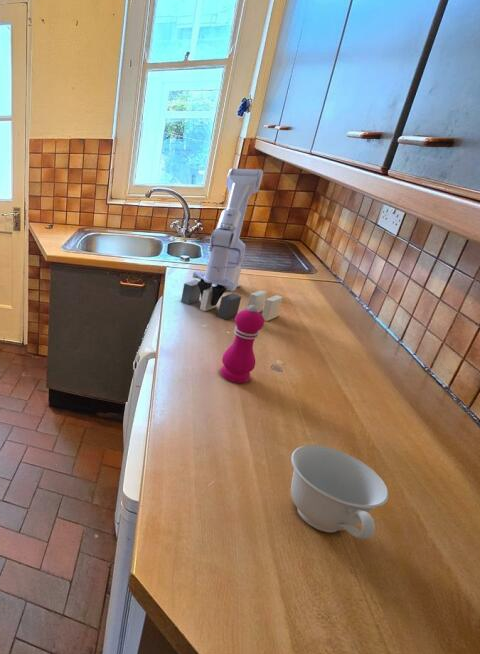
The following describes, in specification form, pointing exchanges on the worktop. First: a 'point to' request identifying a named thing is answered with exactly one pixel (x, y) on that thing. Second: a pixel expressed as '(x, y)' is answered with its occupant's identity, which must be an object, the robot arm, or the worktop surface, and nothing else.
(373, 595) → the worktop surface
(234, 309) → the grey book
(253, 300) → the white book
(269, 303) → the white book
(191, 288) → the grey book
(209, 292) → the white thin book
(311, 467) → the teacup
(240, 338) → the pepper mill
